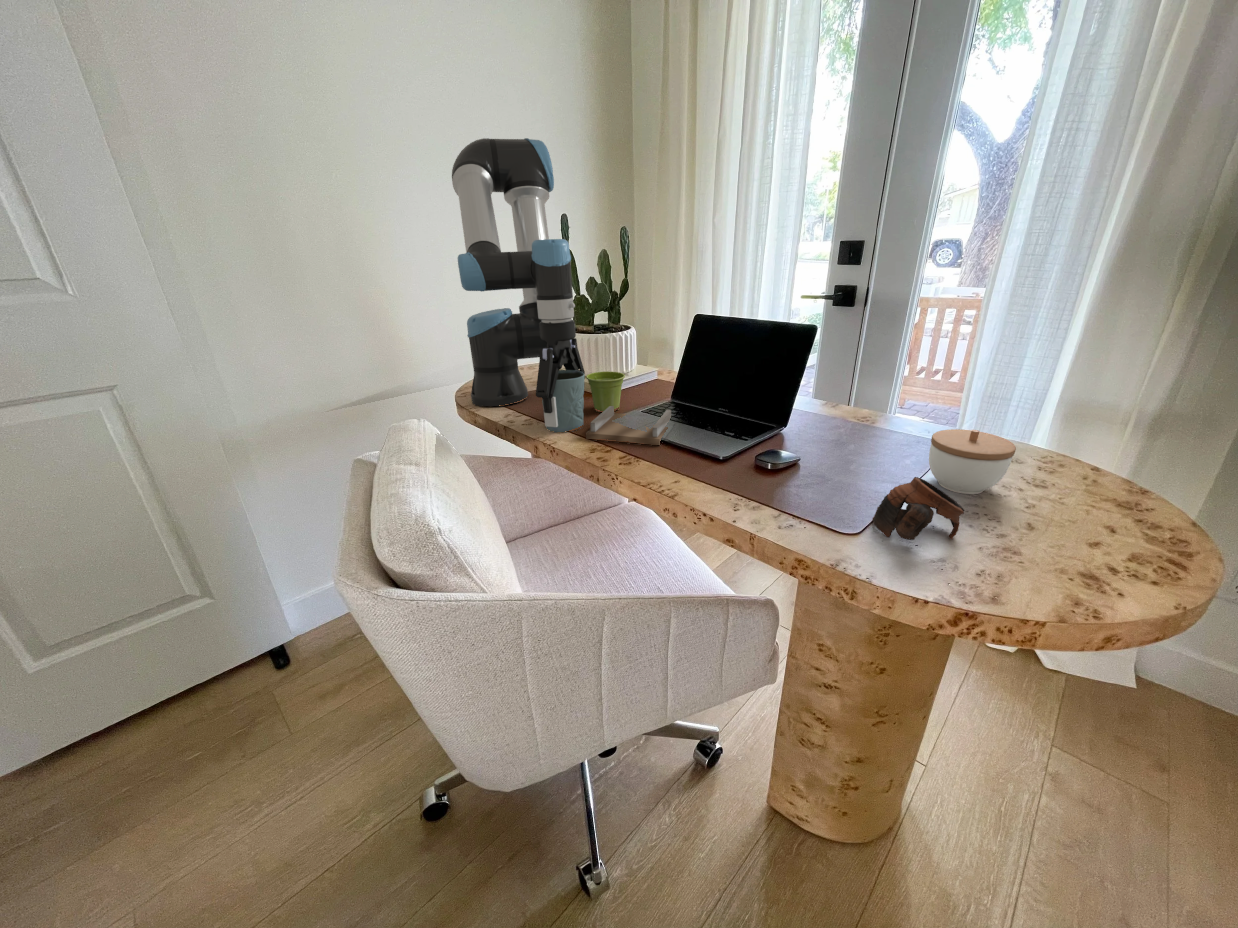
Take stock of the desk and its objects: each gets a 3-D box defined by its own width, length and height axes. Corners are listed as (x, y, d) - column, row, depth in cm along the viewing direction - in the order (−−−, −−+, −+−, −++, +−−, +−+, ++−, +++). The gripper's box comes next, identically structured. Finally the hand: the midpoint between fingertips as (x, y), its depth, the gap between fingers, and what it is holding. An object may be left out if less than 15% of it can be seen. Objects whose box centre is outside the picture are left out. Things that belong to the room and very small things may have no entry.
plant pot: (610, 402, 128) (608, 369, 125) (633, 409, 122) (632, 375, 118) (580, 409, 123) (578, 375, 119) (604, 418, 116) (602, 382, 113)
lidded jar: (1016, 503, 73) (1035, 445, 69) (936, 499, 75) (950, 442, 71) (982, 473, 82) (997, 420, 78) (912, 470, 84) (924, 418, 80)
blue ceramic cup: (534, 428, 111) (528, 376, 106) (563, 416, 119) (559, 367, 114) (567, 436, 106) (563, 382, 101) (596, 423, 113) (593, 372, 108)
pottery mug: (869, 510, 74) (907, 467, 70) (927, 552, 70) (971, 509, 67) (862, 528, 63) (907, 479, 60) (930, 578, 60) (982, 529, 57)
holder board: (586, 439, 104) (585, 423, 102) (608, 418, 116) (608, 404, 114) (659, 446, 99) (659, 429, 97) (675, 423, 111) (675, 409, 109)
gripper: (545, 329, 91) (556, 436, 99) (595, 312, 112) (599, 401, 121) (510, 329, 93) (523, 433, 102) (565, 312, 114) (572, 400, 123)
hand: (564, 416), depth 111 cm, fingers open, 13 cm apart
